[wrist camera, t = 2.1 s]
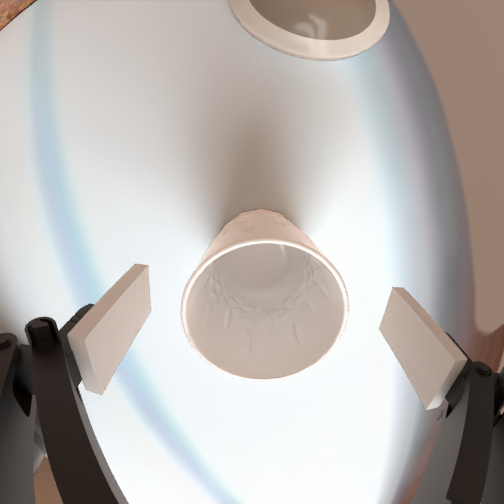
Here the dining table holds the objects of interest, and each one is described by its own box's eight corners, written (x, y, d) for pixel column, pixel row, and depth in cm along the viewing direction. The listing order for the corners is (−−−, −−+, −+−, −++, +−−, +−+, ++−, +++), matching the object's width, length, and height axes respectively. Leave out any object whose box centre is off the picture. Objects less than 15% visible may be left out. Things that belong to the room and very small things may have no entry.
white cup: (201, 284, 23) (172, 364, 14) (221, 190, 21) (196, 217, 11) (293, 304, 24) (314, 389, 14) (322, 215, 21) (373, 261, 12)
